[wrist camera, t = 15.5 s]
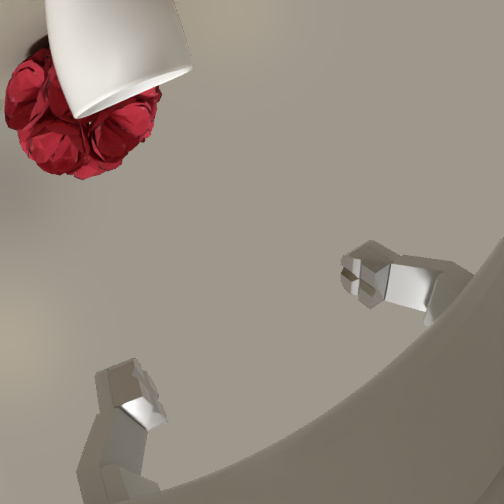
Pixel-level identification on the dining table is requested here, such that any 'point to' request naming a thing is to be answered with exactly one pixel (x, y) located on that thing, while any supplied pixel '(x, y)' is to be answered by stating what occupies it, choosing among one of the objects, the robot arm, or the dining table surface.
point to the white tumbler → (114, 49)
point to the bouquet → (72, 122)
